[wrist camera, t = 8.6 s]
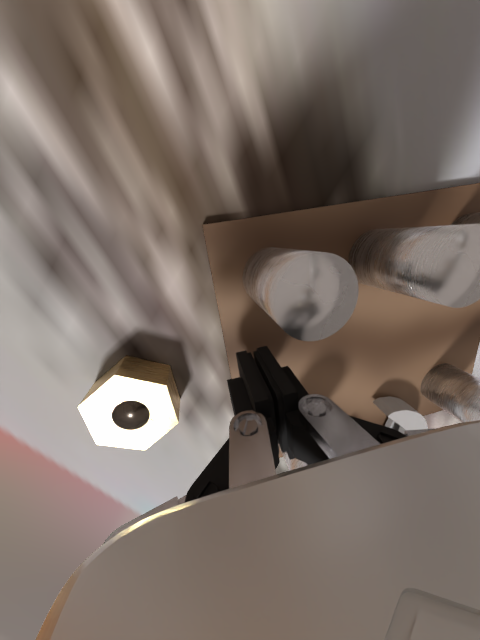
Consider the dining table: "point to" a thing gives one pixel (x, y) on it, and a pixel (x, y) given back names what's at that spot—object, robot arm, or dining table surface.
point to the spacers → (381, 272)
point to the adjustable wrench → (400, 414)
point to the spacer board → (369, 314)
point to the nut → (132, 404)
